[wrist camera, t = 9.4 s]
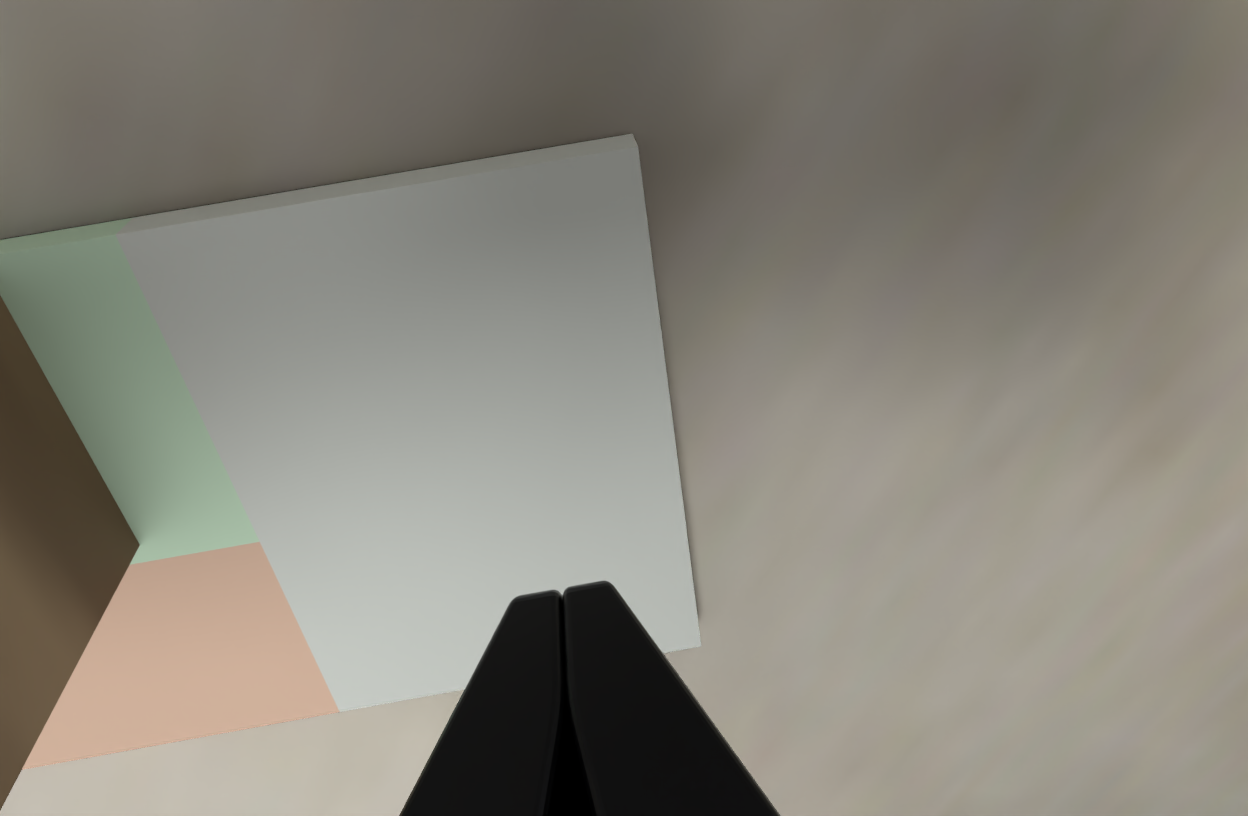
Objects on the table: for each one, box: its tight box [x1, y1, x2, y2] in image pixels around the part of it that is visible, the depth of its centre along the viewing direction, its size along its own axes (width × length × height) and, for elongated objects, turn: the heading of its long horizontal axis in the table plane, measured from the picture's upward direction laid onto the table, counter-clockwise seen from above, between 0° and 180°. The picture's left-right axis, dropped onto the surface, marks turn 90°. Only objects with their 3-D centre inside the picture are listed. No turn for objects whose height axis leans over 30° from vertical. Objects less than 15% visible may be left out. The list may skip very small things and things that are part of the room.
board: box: [0, 134, 701, 770], centre depth 14 cm, size 13×9×1 cm
